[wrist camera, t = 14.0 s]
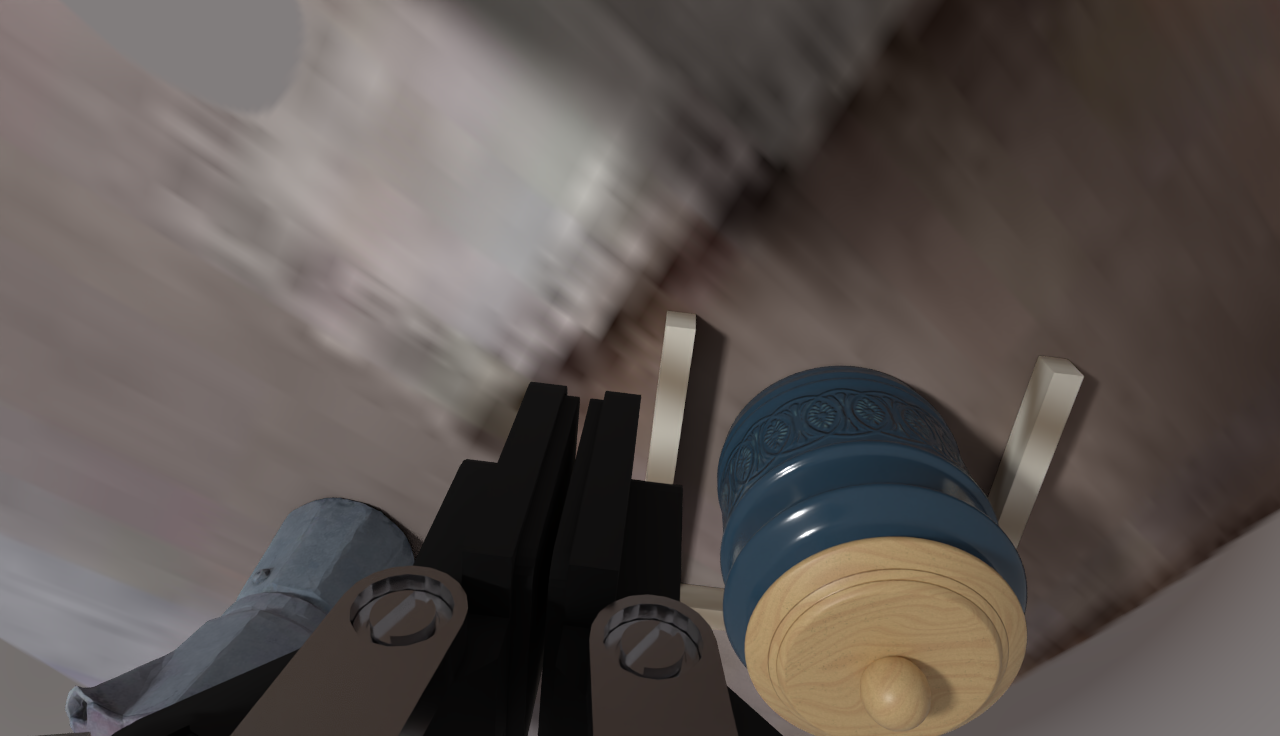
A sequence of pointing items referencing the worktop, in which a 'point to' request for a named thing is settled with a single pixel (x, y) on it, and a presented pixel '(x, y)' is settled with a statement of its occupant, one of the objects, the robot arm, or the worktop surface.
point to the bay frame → (1009, 491)
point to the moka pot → (256, 613)
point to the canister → (864, 560)
